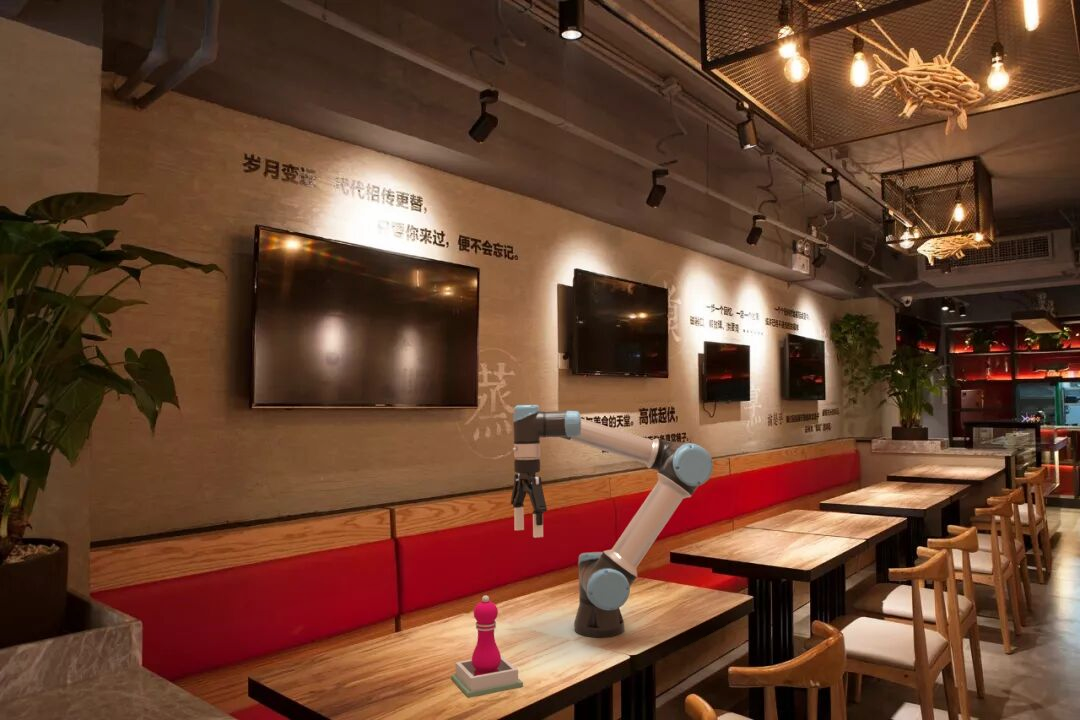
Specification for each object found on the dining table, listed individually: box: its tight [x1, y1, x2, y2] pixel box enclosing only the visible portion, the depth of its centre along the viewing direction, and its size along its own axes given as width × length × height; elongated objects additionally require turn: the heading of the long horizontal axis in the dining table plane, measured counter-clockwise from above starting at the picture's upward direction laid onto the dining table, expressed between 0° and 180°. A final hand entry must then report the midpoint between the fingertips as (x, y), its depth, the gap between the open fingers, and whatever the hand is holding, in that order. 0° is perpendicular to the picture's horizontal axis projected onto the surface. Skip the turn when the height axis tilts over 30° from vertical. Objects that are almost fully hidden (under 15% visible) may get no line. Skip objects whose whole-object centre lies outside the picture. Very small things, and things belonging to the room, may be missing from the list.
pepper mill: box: [471, 595, 502, 676], centre depth 173 cm, size 7×7×20 cm
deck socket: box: [450, 655, 524, 698], centre depth 172 cm, size 14×13×4 cm
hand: (528, 533), depth 199 cm, fingers open, 13 cm apart
